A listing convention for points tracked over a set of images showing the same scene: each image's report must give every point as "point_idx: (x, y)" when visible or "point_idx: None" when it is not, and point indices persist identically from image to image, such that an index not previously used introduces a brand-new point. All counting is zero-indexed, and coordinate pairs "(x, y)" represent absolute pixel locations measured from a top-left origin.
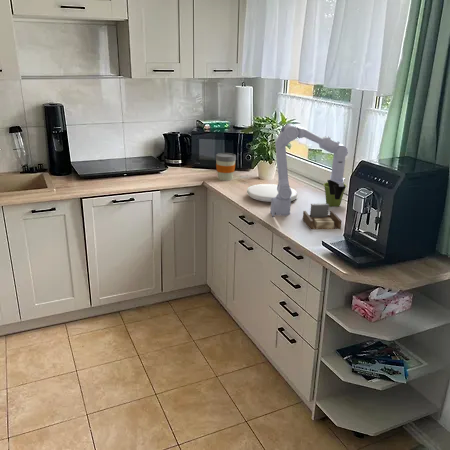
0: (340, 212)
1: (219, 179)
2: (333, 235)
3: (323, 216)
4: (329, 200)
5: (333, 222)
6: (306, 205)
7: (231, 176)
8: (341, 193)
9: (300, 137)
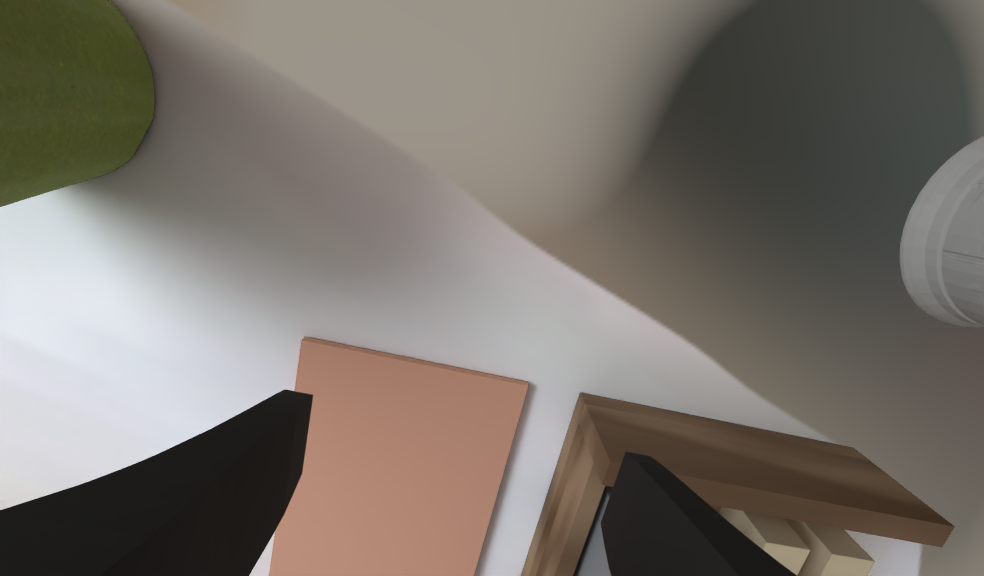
0: (365, 144)
1: None
2: (897, 541)
3: None
4: (51, 188)
5: (867, 563)
6: (55, 413)
7: None
8: (764, 562)
9: None
